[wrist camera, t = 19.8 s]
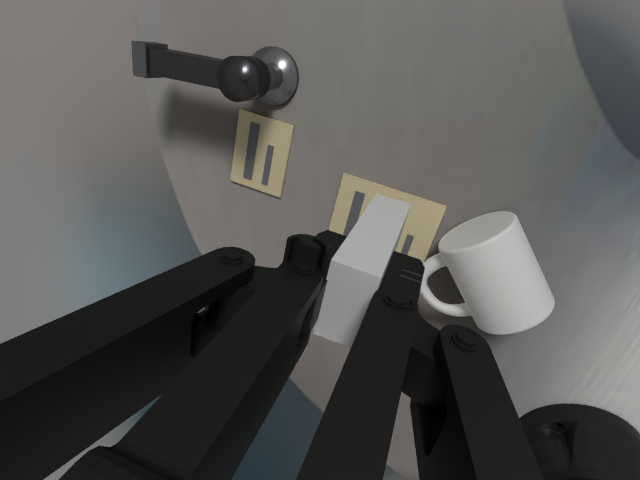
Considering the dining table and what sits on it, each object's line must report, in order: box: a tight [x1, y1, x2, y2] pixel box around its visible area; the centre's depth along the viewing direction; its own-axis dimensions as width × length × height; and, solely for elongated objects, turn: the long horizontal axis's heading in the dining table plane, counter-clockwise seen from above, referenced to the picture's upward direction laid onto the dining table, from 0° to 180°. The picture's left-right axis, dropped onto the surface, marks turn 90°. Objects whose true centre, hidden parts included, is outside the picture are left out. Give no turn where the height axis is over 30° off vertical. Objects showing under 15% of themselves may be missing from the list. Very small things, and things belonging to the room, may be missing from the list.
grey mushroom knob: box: [253, 47, 299, 105], centre depth 43 cm, size 6×6×5 cm
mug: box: [420, 211, 555, 335], centre depth 43 cm, size 12×10×8 cm
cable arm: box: [132, 41, 271, 102], centre depth 41 cm, size 14×4×4 cm, turn 81°
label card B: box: [329, 173, 446, 263], centre depth 49 cm, size 16×12×1 cm
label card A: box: [231, 109, 294, 198], centre depth 49 cm, size 9×7×1 cm
